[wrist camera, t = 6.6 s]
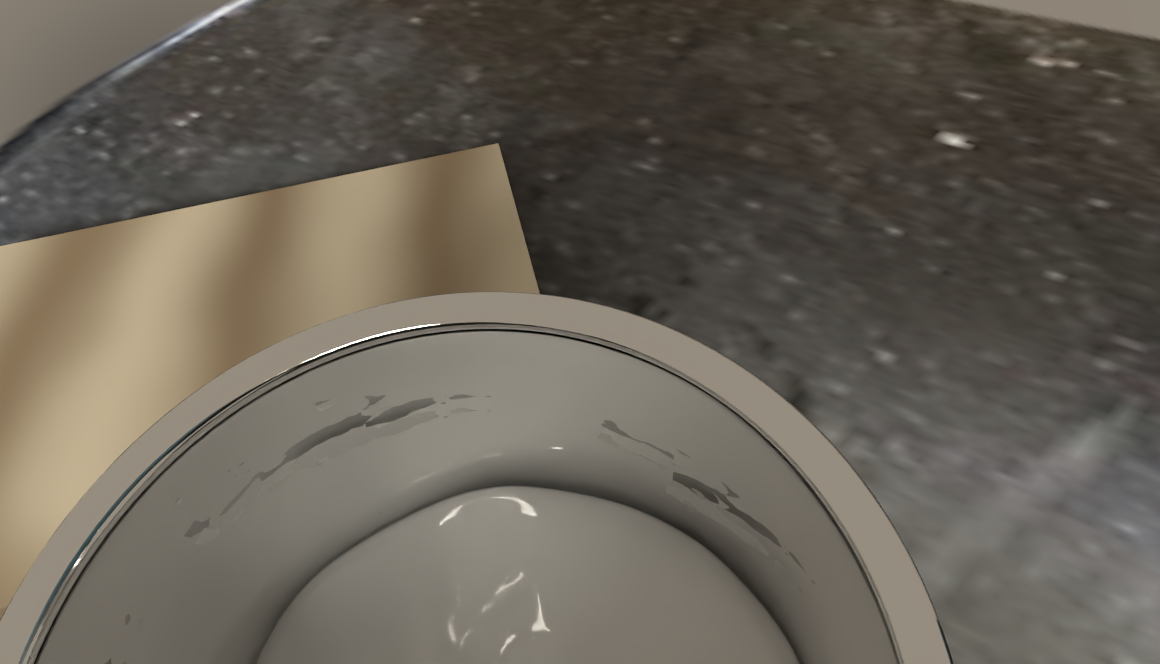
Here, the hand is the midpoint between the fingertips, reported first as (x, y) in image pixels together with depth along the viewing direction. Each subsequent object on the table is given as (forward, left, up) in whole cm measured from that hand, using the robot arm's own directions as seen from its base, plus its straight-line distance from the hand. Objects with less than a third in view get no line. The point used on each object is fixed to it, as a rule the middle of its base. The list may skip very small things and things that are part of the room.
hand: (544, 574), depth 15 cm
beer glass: (0, +3, -6) cm, 7 cm away
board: (+7, -12, -9) cm, 16 cm away
